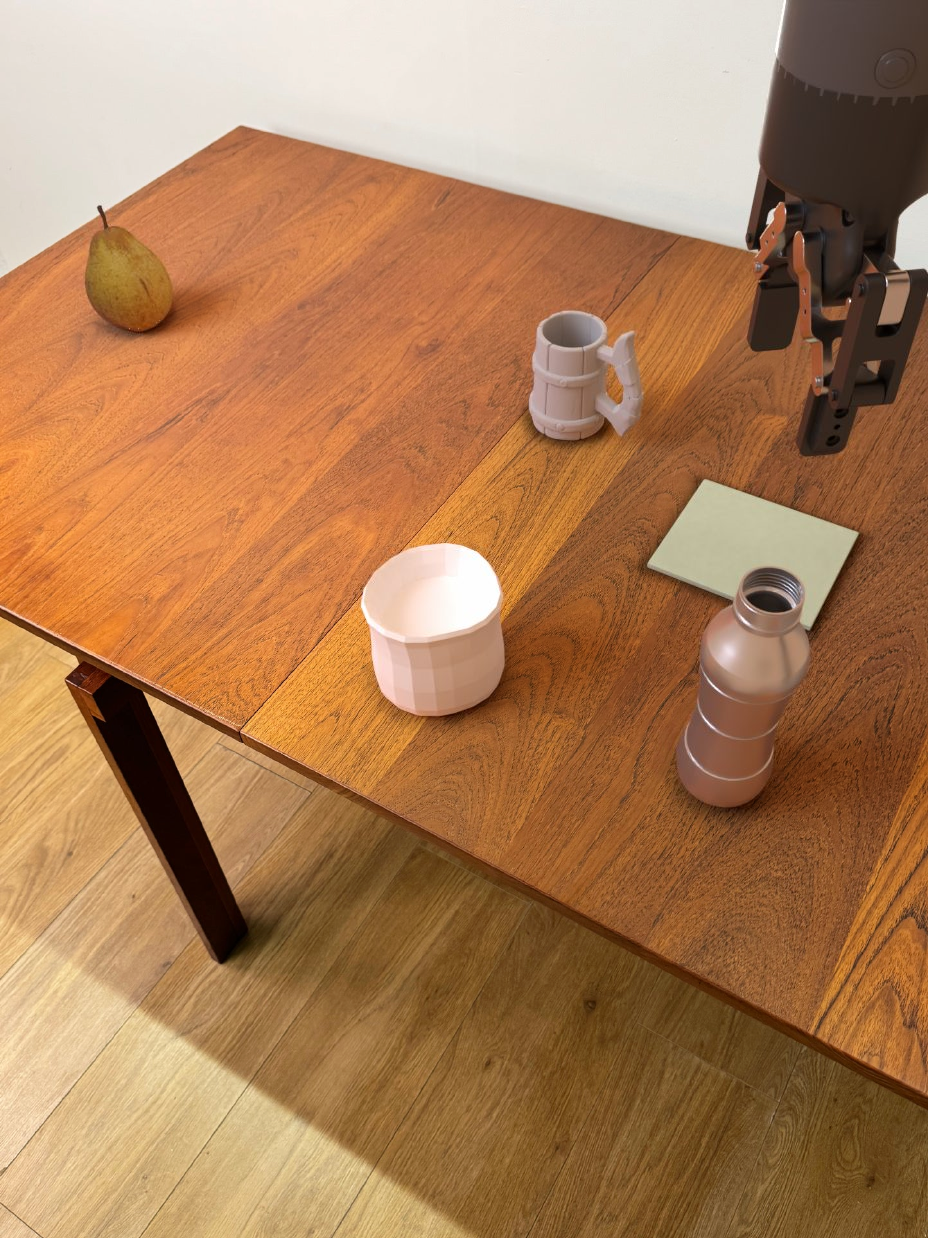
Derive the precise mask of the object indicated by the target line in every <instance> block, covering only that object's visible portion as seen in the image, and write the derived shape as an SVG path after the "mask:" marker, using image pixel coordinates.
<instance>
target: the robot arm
mask: <svg viewBox="0 0 928 1238" xmlns="http://www.w3.org/2000/svg"><path fill="white" fill-rule="evenodd" d="M757 160H758V164H759V170H758V175H757V179H756V183H755V184H756V185H755V189H754V194H753V199H752V204H751V209H750V213H749V217H748V223H747V227H746V233H745V239H744V240H745V244H746V248H747V250H748V251H757V254H756V255H755V257H754V260H753V263H752V273H753V277H754V279H755V280H756V281H758V282H757V283H756V289H755V294H754V300H753V305H752V309H751V314H750V320H749V325H748V328H747V329H748V330H747V335H746V342H747V344H748V345H749V347H750V350H752V352H756V353H759V352H771V351H781V350H785V349H787V348H788V347H789V346H790V345H791V344H792V342H793V337H794V333H795V331H796V330H795V329H796V325H797V321H798V317H799V334H800V337H801V338H802V339H803V341H805V342H807V343H808V344H810V346H811V384H810V385H809V389H808V392H807V395H806V400H805V403H804V407H803V411H802V415H801V419H800V423H799V426H798V430H797V434H796V438H795V445H796V447H797V450H798V452H799V454H800V455H801V456H803V457H806V458H809V457H817V456H818V457H820V456H831V455H837V454H839V453H841V452H843V451H844V450H845V449H846V448H847V444H848V443H849V440H850V439H849V438H850V436H851V432H852V429H853V426H854V422H855V419H856V416H857V413H858V410H859V408H865V407H876V406H887V405H892V404H894V402H895V400H896V398H897V395H898V392H899V389H900V386H901V382H902V378H903V376H904V372H905V370H906V366H907V362H908V359H909V356H910V353H911V349H912V346H913V344H914V339H915V336H916V334H917V330H918V327H919V325H920V320H921V317H922V313H923V311H924V307H925V304H926V300H927V298H928V270H927V268H924V267H923V268H914V269H913V268H912V269H901V268H900V266H899V265H898V264H897V263H896V261H895V257H896V252H897V237H898V230H899V229H898V228H899V224H900V221H899V220H900V217H901V216H902V214H903V213H904V212H905V211H906V210H907V209H908V208H909V207H910V206H911V205H913V204H915V202H917V201H918V200H920V199H921V198H923V197H924V196H926V195H928V0H784V1H783V5H782V12H781V18H780V23H779V28H778V34H777V40H776V44H775V50H774V56H773V62H772V67H771V72H770V78H769V83H768V90H767V96H766V101H765V107H764V113H763V117H762V125H761V129H760V135H759V141H758V146H757ZM772 210H773V212H772V215H773V219H772V220H771V221H770V223H767V222H768V217H769V215H770V213H771V211H772ZM835 307H845V308H846V310H847V314H846V318H845V319H844V318H843V319H834V320H831V319H828V318H826V317H825V315H824V313H823V308H835ZM837 339H840V342H839V346H838V349H837V356H836V359H835V362H834V355H833V354H834V352H833V351H834V348H833V346H834V342H835V340H837ZM878 361H880V362H879V365H878Z"/></svg>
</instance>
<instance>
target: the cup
mask: <svg viewBox="0 0 928 1238" xmlns="http://www.w3.org/2000/svg"><path fill="white" fill-rule="evenodd" d="M362 591H363V592H362V597H361V600H360V601H361V602H360V607H361V610H362V613H363V615H364V618H365V620H366V623H367V625H368V627H369V632H370V640H371V641H370V643H371V659H372V664H373V670H374V675H375V677H376V680H377V683H378V686H379V688H380V689H379V690H380V692H381V693H382V695H383V696H384V697H385V698H386V699H387V700H388V701H389V702H391V703H392V704H393V705H394V706H396V708H398V709H399V710H402V711H404V712H407V713H410V714H413V715H415V716H419V717H441V716H442V717H443V716H447V715H452V714H457V713H459V712H462V711H464V710H467V709H471V708H473V707H475V706H477V705H478V704H480V703H481V702H483V701H485V700H486V699H488V698H489V697H490V696H491V695H492V694H493V692H494V691H495V690H496V689H497V687H498V686H499V684H500V681H501V678H502V675H503V671H504V669H505V666H506V665H505V664H506V663H505V662H506V661H505V642H504V635H503V630H502V623H501V609H502V604H503V601H504V593H503V588H502V585H501V581H500V578H499V577H498V574H497V573H496V571H495V569H494V568H493V566H492V564H491V563H490V562H488V560H486V558H485V557H484V556H482V555H481V554H480V553H479V551H476V550H475V549H474V550H473V549H472V548H469V547H466V546H464V545H461V544H455V543H449V542H443V543H434V544H424V545H418V546H415V547H411V548H407V549H405V550H403V551H401V552H399V553H398V554H395V555H394V556H392V557H390V558H389V559H388V560H387V561H386V562H384V563H383V564H382V565H381V566H379V567H378V568H377V569H376V570H375V571H374V572H373V574H372V575H371V577H370V578H369V580H368V582H367V583H366V585H365V586H364V587H363V590H362Z"/></svg>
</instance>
